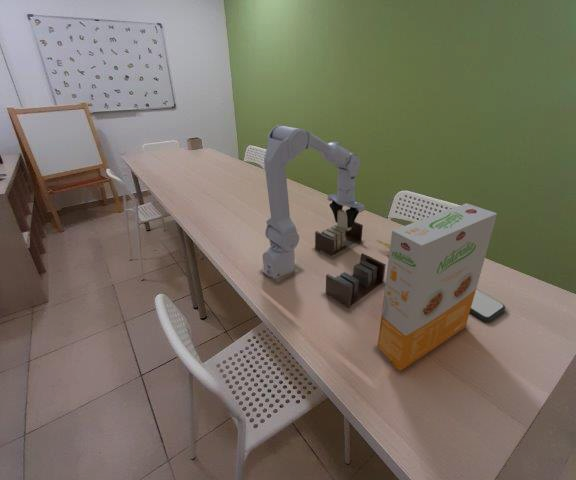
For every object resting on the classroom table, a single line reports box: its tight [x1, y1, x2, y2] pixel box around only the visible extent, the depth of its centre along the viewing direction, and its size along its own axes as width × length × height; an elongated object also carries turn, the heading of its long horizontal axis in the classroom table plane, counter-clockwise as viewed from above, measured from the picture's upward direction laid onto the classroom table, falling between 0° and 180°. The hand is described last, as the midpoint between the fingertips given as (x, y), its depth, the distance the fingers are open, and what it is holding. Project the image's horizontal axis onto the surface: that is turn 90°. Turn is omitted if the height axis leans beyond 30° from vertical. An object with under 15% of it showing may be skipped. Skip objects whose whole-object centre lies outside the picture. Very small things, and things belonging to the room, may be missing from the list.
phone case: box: [469, 288, 506, 323], centre depth 80 cm, size 9×2×16 cm
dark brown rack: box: [314, 221, 364, 257], centre depth 106 cm, size 16×8×7 cm, turn 130°
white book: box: [336, 208, 351, 231], centre depth 105 cm, size 2×5×6 cm, turn 40°
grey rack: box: [325, 252, 387, 309], centre depth 83 cm, size 16×8×7 cm, turn 130°
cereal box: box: [377, 202, 498, 372], centre depth 63 cm, size 22×6×30 cm, turn 120°
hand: (344, 224), depth 105 cm, fingers closed on white book, 5 cm apart
